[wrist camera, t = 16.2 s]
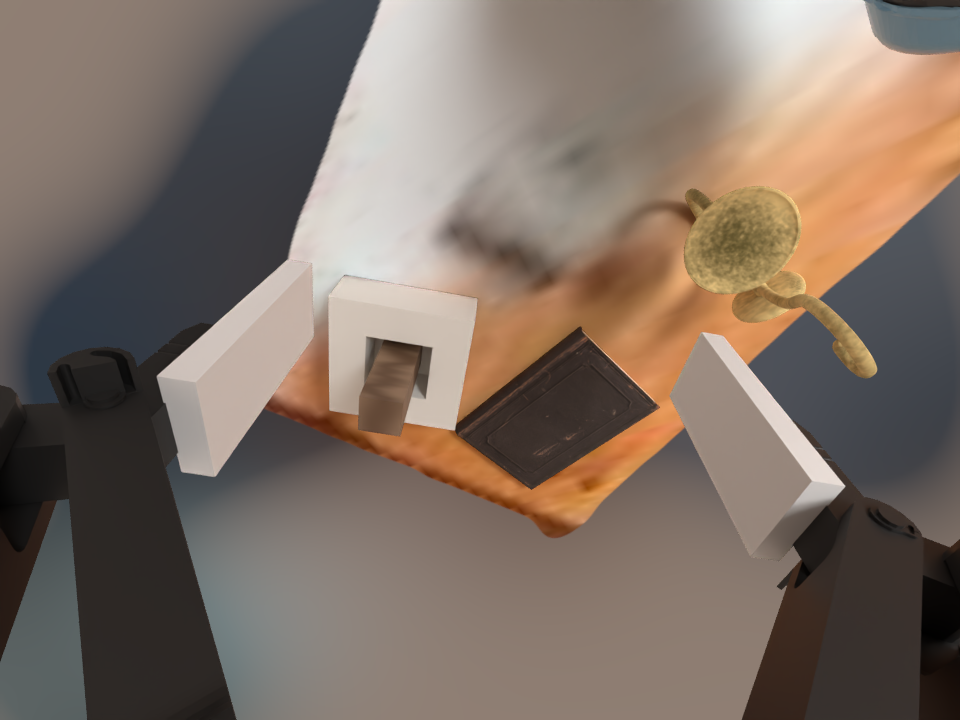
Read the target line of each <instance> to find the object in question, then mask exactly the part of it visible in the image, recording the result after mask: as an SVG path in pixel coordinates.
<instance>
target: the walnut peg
mask: <svg viewBox="0 0 960 720" xmlns="http://www.w3.org/2000/svg"><path fill="white" fill-rule="evenodd" d="M422 349H423V346H421V345H415V344H409V343H403V342H397V341H391V340H385V339H384V341H383V343H382V346H381V348H380V350H379V352H378V355H377V357H376V359H375V362H374V364H373V366H372V368H371V371H370V373H369V375H368V377H367V380H366V382H365V384H364V387H363V389H362V391H361V393H360V396H359V415H358V430H362V431H368V432H375V433H381V434H388V435H394V436H400V435H401V432H402V428H403V425H404V421H405V418H406V414H407V411H408V407H409V403H410V400H411V396H412V393H413V389H414V386H415V382H416V379H417V375H418V372H419V368H420V364H421V357H422Z"/></svg>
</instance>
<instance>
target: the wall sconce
mask: <svg viewBox="0 0 960 720" xmlns="http://www.w3.org/2000/svg"><path fill="white" fill-rule="evenodd" d="M685 197H686V201H687V203H688V205H689V207H690V209H691V211H692V213H693V214H694V216H695V218H696V221H695V222H694V224H693V225H692V227H691V229H690V231H689V233H688V236H687V239H686V242H685V247H684V262H685V266H686V269H687V272H688V274H689V275H690V277H691V278H692V280H693V281H694V282H695V283H696V284H697V285H699V286H700V287H701V288H703V289H705V290H707V291H710V292H713V293H717V294H736V293H738V294H737V295H736V296H735V298H734V300H733V303H732V311H733V314H734V315H735V317H736V318H738V319H739V320H741V321H743V322H748V323H757V322H763V321H767V320H770V319H773V318H776V317H778V316H780V315H782V314H784V313H785V312H787V311H788V310H790V309H795V308H798V307H803V308H805V309H806V310H808V311H809V312H810V313H812V314H813V315H814V316H815V317H816V318H817V319H818V320H819V321H820V322H821V323H823V325H825V327H826V328H827V329H828V330H829V331H830V332H831V333H832V334H833V335H834V336H835V337H836V338H837V340H836V341H835V342H834V343H833V346H832V348H833V350H834V352H835V353H836V355H837V356H838V357H839V359H840V360H841V361H842V362H843V363H844V364H845V365H846V367H848V368H849V369H850V370H851V371H852V372H853V373H855V374H856V375H857V376H859V377H862V378H870V377H872V376H873V375H874V374H875V373H876V372H877V367H876V363H875V361H874V359H873V357H872V356H871V354H870V353H869V351H868V349H867V348H866V347H865V345H864V344H863V342H862V341H861V340H860V339H859V337H858V336H857V335H856V334H855V333H854V331H853V330H852V329H851V328H850V327H849V326H848V325H847V324H846V323H845V322H844V321H843V320H842V319H841V318H840V317H839V316H838V315H837V314H836V313H835V312H834V311H833V310H832V309H831V308H829V307H828V306H827V305H826V304H824V303H823V302H822V301H820V300H819V299H817V298H816V297H814V296H811V295H808V294H804V293H805V290H806V283H805V280H804V279H803V277H802V276H801V275H799V274H797V273H795V272H792V271H780V270H781V269H782V268H783V267H784V266H785V265H786V264H787V262H788V261H789V260H790V258H791V257H792V255H793V254H794V252H795V250H796V247H797V245H798V242H799V239H800V235H801V217H800V213H799V210H798V208H797V206H796V204H795V203H794V201H793V200H792V199H791V198H790V197H789V196H788V195H786V194H785V193H783V192H781V191H779V190H777V189H774V188H770V187H764V186H752V187H746V188H742V189H738V190H735V191H732V192H730V193H728V194H726V195H724V196H722V197H720V198H719V199H717V200H716V201H714V202H712V201H711V200H710V199H709V198H707V197H706V196H705V195H704V194H703V193H701V192H700V191H698V190H696V189H690V190H688V191H687V192H686V195H685Z"/></svg>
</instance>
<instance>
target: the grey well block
mask: <svg viewBox="0 0 960 720" xmlns="http://www.w3.org/2000/svg"><path fill="white" fill-rule="evenodd" d="M477 300H478V298H473V297H467V296H462V295H456V294H450V293H445V292H439V291H433V290H428V289H422V288H416V287H410V286H405V285H399V284H393V283H388V282H382V281H376V280H371V279H365V278H359V277H353V276H348V275H344V276H343V278H342V279H341V280H340V282H339V283H338V284H337V286H336V287H335V288H334V289H333V291H332V292H331V293H330V295H329V296H328V319H329V411H335V412H341V413H348V414H354V415H359V396H360V393H361V391H362V389H363V387H364V384H365V382H366V380H367V377H368V375H369V373H370V371H371V368H372V366H373V364H374V362H375V359H376V357H377V355H378V352H379V350H380V348H381V346H382V343H383V341H384V339H385V340H391V341H397V342H403V343H409V344H415V345H421V346H423V349H422V357H421V364H420V368H419V372H418V375H417V379H416V382H415V386H414V389H413V393H412V396H411V400H410V403H409V407H408V411H407V414H406V418H405V421H404V423H411V424H417V425H423V426H429V427H436V428H442V429H448V430H455V427H456V421H457V416H458V410H459V405H460V400H461V394H462V389H463V384H464V378H465V373H466V368H467V362H468V357H469V351H470V346H471V341H472V335H473V330H474V325H475V318H476V309H477Z"/></svg>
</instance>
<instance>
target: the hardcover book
mask: <svg viewBox="0 0 960 720" xmlns="http://www.w3.org/2000/svg"><path fill="white" fill-rule="evenodd" d="M659 408H660V407H659V406H658V405H657V404H656V403H655V401H654V400H653V399H652V398H651V397H650V396H649V395H648V394H647V393H646V392H645V391H644V390H643V389H642V388H641V387H640V386H639V385H638V384H637V383H636V382H635V381H634V380H633V379H632V378H631V377H630V376H629V375H628V374H627V373H626V372H625V371H624V370H623V369H622V368H621V367H620V366H619V365H618V364H616V363H615V362H614V361H613V360H612V359H611V358H610V357H609V356H608V355H607V354H606V353H605V352H604V351H603V350H602V349H601V348H600V347H599V346H598V345H597V344H596V343H595V342H594V341H593V340H592V339H591V338H590V337H589V336H588V335H587V334H586V333H585V332H584V331H583V330H582V328H581V327H579V328H578V329H576V330H575V331H574V332H573V333H571V334H570V335H569V336H568V337H566V338H565V339H564V340H562V341H561V342H560V343H559V344H557V345H556V346H555V347H554V348H552V349H551V350H550V351H549V352H547V353H546V354H545V355H544V356H542V357H541V358H540V359H538V360H537V361H536V362H535V363H533V364H532V365H531V366H530V367H528V368H527V369H526V370H525V371H523V372H522V373H521V374H519V375H518V376H517V377H516V378H514V379H513V380H512V381H511V382H509V383H508V384H507V385H506V386H504V387H503V388H502V389H501V390H499V391H498V392H497V393H495V394H494V395H493V396H492V397H490V398H489V399H488V400H487V401H485V402H484V403H483V404H482V405H480V406H479V407H478V408H477V409H475V410H474V411H473V412H471V413H470V414H469V415H468V416H466V417H465V418H464V419H463V420H461V421H460V422H459V423H458V424H456V427H455V431H456V433H457V435H458V436H460V437H461V438H462V439H464V440H465V441H466V442H468V443H469V444H470V445H472V446H473V447H474V448H476V449H477V450H478V451H480V452H481V453H482V454H484V455H485V456H486V457H488V458H489V459H491V460H492V461H493V462H495V463H496V464H497V465H499V466H500V467H501V468H503V469H504V470H505V471H507V472H508V473H509V474H511V475H512V476H513V477H515V478H516V479H518V480H519V481H520V482H522V483H523V484H524V485H526V486H527V487H528V488H530V489H531V490H532V489H533V488H535V487H537V486H538V485H540V484H541V483H543V482H544V481H546V480H547V479H549V478H551V477H552V476H554V475H555V474H557V473H558V472H560V471H562V470H563V469H565V468H566V467H568V466H569V465H571V464H573V463H574V462H576V461H577V460H579V459H580V458H582V457H583V456H585V455H587V454H588V453H590V452H591V451H593V450H594V449H596V448H598V447H599V446H601V445H602V444H604V443H605V442H607V441H609V440H610V439H612V438H613V437H615V436H616V435H618V434H620V433H621V432H623V431H624V430H626V429H627V428H629V427H630V426H632V425H634V424H635V423H637V422H638V421H640V420H641V419H643V418H645V417H646V416H648V415H649V414H651V413H652V412H654V411H656V410H657V409H659Z"/></svg>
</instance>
